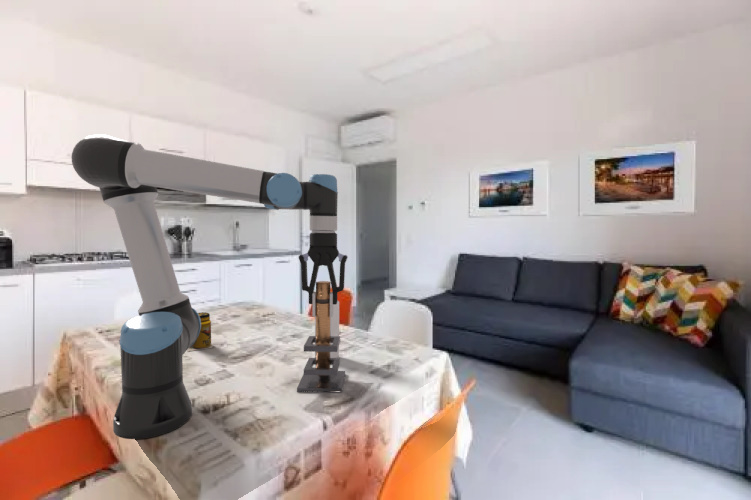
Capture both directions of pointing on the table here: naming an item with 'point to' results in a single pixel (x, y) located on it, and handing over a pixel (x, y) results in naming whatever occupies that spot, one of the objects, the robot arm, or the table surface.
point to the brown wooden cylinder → (323, 322)
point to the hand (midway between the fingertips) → (323, 315)
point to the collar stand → (333, 377)
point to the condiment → (203, 334)
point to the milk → (333, 327)
